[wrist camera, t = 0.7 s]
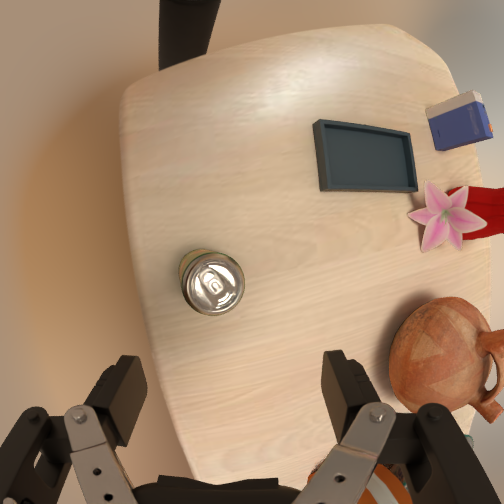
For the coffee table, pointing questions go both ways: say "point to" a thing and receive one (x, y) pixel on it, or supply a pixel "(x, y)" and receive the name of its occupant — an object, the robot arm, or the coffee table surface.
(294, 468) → the coffee table surface
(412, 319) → the jug
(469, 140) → the walkman
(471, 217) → the lily
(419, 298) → the coffee table surface
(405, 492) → the alarm clock
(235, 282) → the soda can
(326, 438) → the coffee table surface
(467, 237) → the water bottle
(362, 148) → the tray
